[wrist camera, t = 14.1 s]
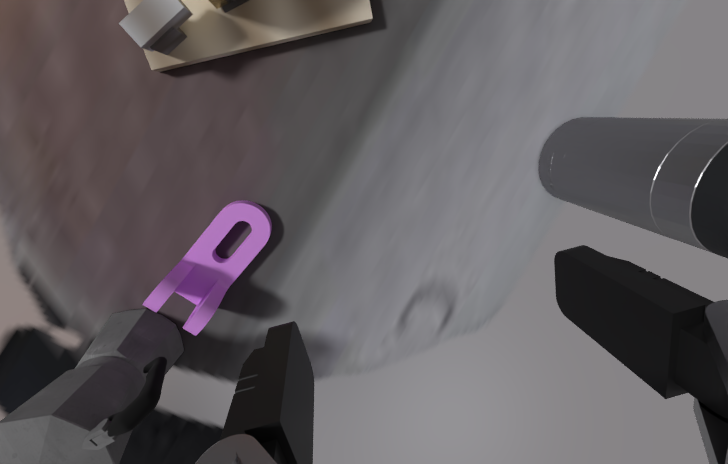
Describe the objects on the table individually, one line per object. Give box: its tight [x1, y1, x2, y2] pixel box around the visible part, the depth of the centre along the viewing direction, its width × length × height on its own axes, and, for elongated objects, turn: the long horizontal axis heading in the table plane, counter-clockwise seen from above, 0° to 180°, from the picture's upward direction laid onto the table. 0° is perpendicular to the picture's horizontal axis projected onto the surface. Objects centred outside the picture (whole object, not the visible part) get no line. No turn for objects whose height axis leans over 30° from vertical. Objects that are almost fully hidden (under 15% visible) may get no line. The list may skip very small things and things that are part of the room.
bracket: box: [143, 200, 272, 336], centre depth 35 cm, size 13×6×7 cm, turn 138°
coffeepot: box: [0, 309, 184, 464], centre depth 32 cm, size 15×9×18 cm, turn 118°
